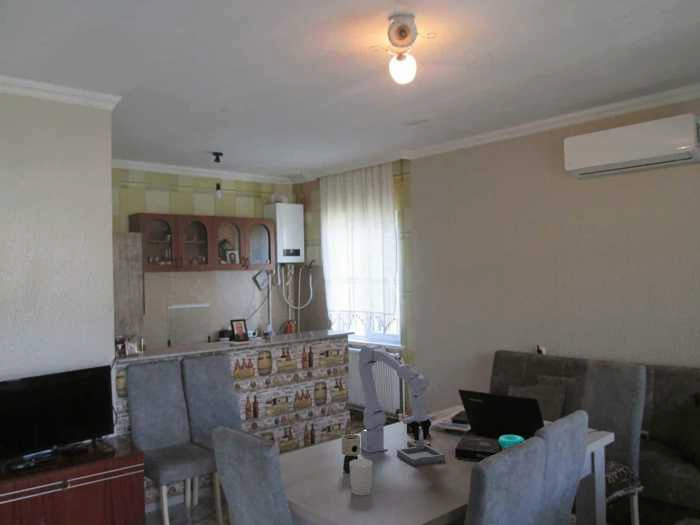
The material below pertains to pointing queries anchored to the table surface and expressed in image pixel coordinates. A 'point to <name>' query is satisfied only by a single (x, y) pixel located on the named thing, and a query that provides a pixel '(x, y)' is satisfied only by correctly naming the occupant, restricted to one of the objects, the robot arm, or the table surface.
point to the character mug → (350, 449)
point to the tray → (420, 455)
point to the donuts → (510, 440)
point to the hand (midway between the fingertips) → (420, 439)
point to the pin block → (413, 443)
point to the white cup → (361, 476)
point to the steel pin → (420, 438)
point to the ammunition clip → (408, 423)
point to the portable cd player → (477, 448)
